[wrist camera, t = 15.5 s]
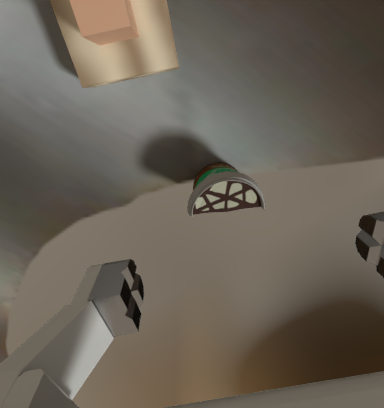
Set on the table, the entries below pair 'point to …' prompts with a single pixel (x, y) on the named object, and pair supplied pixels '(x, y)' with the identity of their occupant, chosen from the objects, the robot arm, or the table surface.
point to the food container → (223, 190)
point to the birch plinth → (121, 46)
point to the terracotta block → (105, 20)
